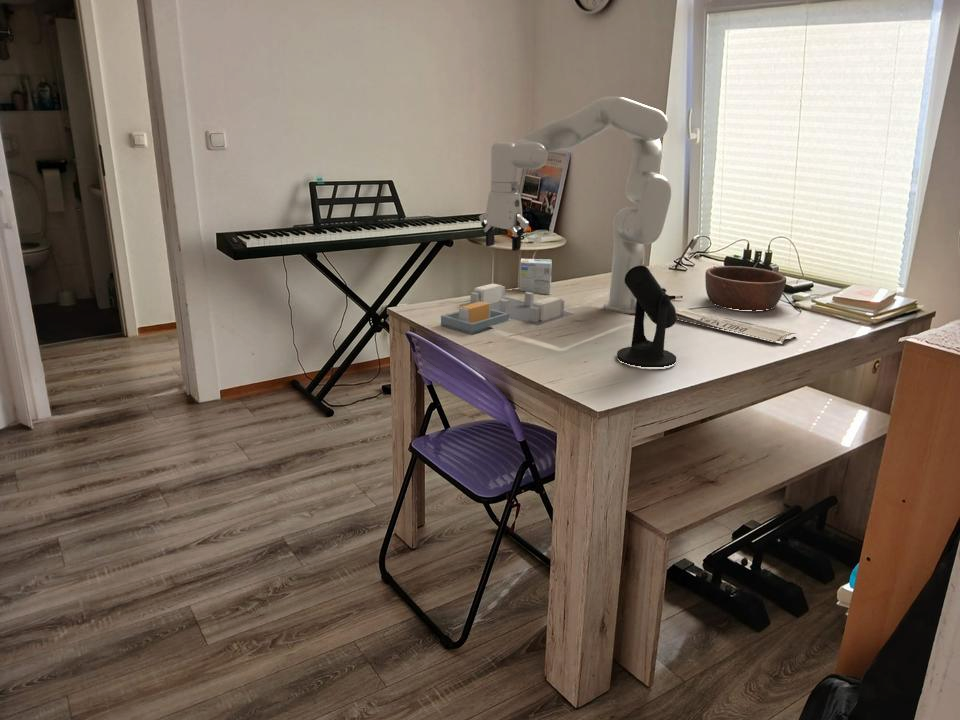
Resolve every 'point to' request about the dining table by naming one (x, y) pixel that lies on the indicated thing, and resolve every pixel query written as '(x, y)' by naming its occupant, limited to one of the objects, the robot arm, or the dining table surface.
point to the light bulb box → (535, 276)
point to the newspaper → (732, 325)
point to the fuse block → (519, 308)
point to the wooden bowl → (744, 287)
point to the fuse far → (489, 293)
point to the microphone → (658, 311)
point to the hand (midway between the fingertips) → (502, 247)
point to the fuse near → (548, 307)
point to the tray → (476, 327)
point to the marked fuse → (475, 312)
